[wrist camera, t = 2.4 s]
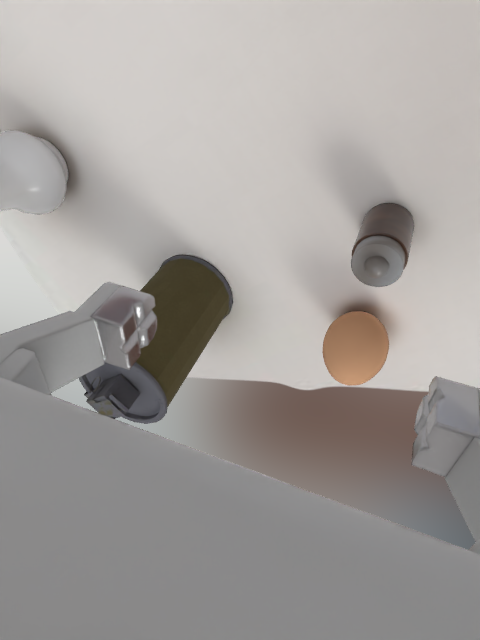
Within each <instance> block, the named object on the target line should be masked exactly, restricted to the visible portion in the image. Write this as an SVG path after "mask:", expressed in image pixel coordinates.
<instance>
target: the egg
mask: <svg viewBox="0 0 480 640" xmlns="http://www.w3.org/2000/svg"><path fill="white" fill-rule="evenodd" d="M388 349H389V340H388V334H387V331H386V329H385V327H384V326H383V324H382V323H381V322H380V321H379V320H378V319H377V318H376V317H375V316H373V315H371V314H369V313H366V312H362V311H353V312H348V313H346V314H344V315H341V316H340V317H338V318H337V319H336V320H335V321H333V323H332V324H331V325H330V326H329V328H328V330H327V332H326V335H325V338H324V342H323V358H324V362H325V365H326V367H327V369H328V371H329V373H330V374H331V376H332V377H333V378H334V379H335V380H337V381H338V382H340V383H342V384H345V385H360V384H363V383H365V382H367V381H368V380H370V379H371V378H373V377H374V376H375V375H376V374H377V373H378V372H379V371H380V370H381V368H382V367H383V365H384V363H385V361H386V358H387V354H388Z"/></svg>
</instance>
